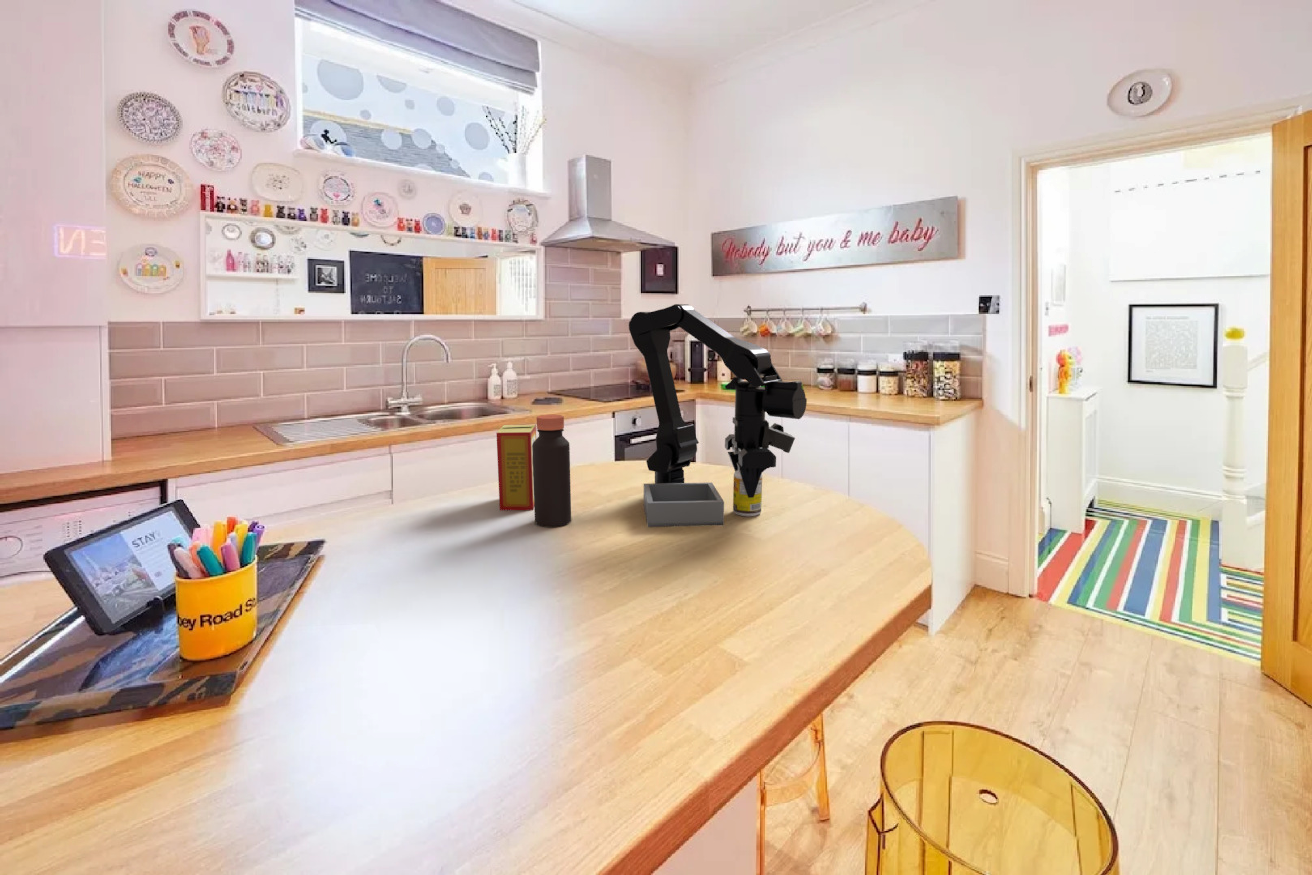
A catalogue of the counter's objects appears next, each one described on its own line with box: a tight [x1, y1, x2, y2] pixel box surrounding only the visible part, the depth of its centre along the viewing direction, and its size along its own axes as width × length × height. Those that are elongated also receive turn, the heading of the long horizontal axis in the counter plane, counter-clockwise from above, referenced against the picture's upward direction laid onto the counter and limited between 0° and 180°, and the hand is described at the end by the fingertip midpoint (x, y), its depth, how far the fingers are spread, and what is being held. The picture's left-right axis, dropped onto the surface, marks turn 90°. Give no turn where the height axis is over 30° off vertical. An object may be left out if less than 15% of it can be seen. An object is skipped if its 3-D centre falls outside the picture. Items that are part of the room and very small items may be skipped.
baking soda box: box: [496, 424, 537, 511], centre depth 133 cm, size 10×6×16 cm
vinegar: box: [532, 414, 572, 528], centre depth 120 cm, size 7×7×20 cm
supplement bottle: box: [732, 462, 763, 517], centre depth 127 cm, size 6×6×10 cm
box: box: [643, 482, 725, 528], centre depth 126 cm, size 14×14×4 cm
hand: (747, 493), depth 127 cm, fingers closed on supplement bottle, 6 cm apart
